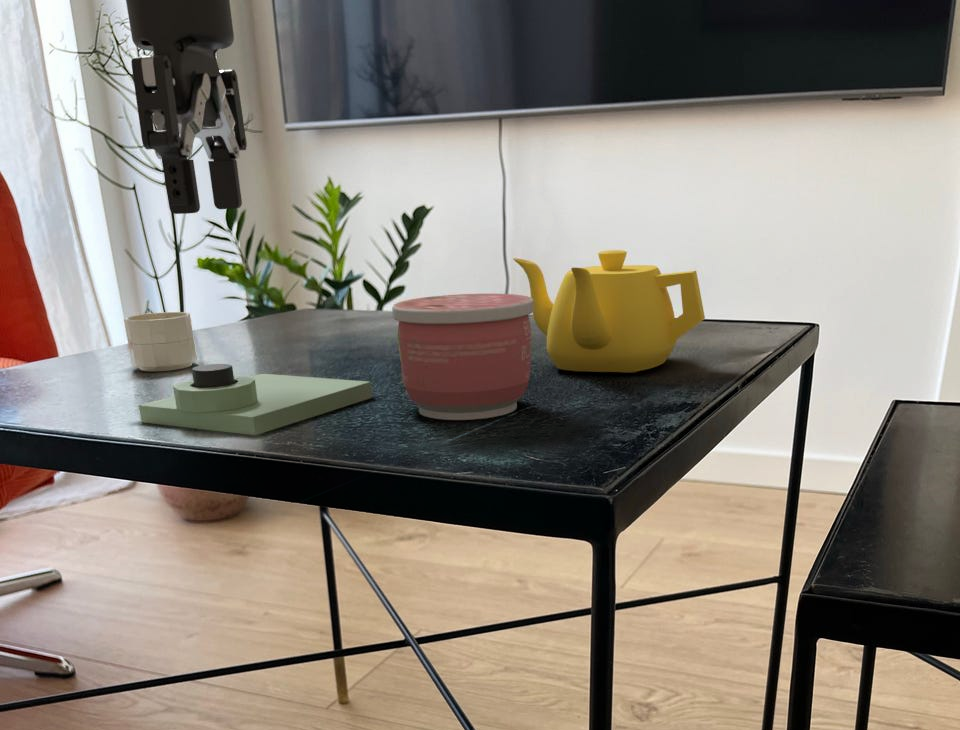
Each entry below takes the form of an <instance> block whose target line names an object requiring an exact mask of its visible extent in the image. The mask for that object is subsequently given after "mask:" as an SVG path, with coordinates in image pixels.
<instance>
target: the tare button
mask: <svg viewBox="0 0 960 730" xmlns="http://www.w3.org/2000/svg"><path fill="white" fill-rule="evenodd" d="M191 374H192V380H193V381H194V387H196V388H211V387H221V386H228V385H232V384H235V382H234V376H235V375H234V368H233V365H232V364H229V363H210V364H202V365H198V366H194V367H192V368H191Z"/></svg>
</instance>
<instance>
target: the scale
mask: <svg viewBox="0 0 960 730" xmlns="http://www.w3.org/2000/svg"><path fill="white" fill-rule="evenodd" d="M234 382H235V384H232V385H228V386H221V387H211V388H196V387H194V381H193V379H190V380H185V381H181V382H178V383H177V384H175V385H174V386H173V387H172V389H173V395H174V396H169V397H165V398H162V399H157V400H154V401H150V402H146V403H142V404H138V409H139V416H140V421H141V423H145V424H146V423H147V424H154V425H155V424H156V425H163V426H164V425H165V426H171V427H181V428H188V429H197V430H207V431H216V432H225V433H232V434H242V435H251V436H258V435H261V434H263V433H264V434H265V433H267V432H269V431H273V430H276V429H279V428H282V427H285V426H288V425H292V424H295V423H298V422H301V421H304V420H308V419H310V418H314V417H316V416H320V415H323V414H326V413H329V412H332V411H336V410H338V409H341V408H344V407H348V406H351V405H354V404H357V403H360V402H363V401H367V400H370V399H373V392H372V391H373V390H372V381H369V380H368V381H367V380H354V379H353V380H352V379H340V378H329V377H327V378H324V377H315V376H314V377H313V376H302V375H301V376H299V375H287V374H271V373H260V374H255V375H251V376H242V375H241V376H240V375H234Z"/></svg>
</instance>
